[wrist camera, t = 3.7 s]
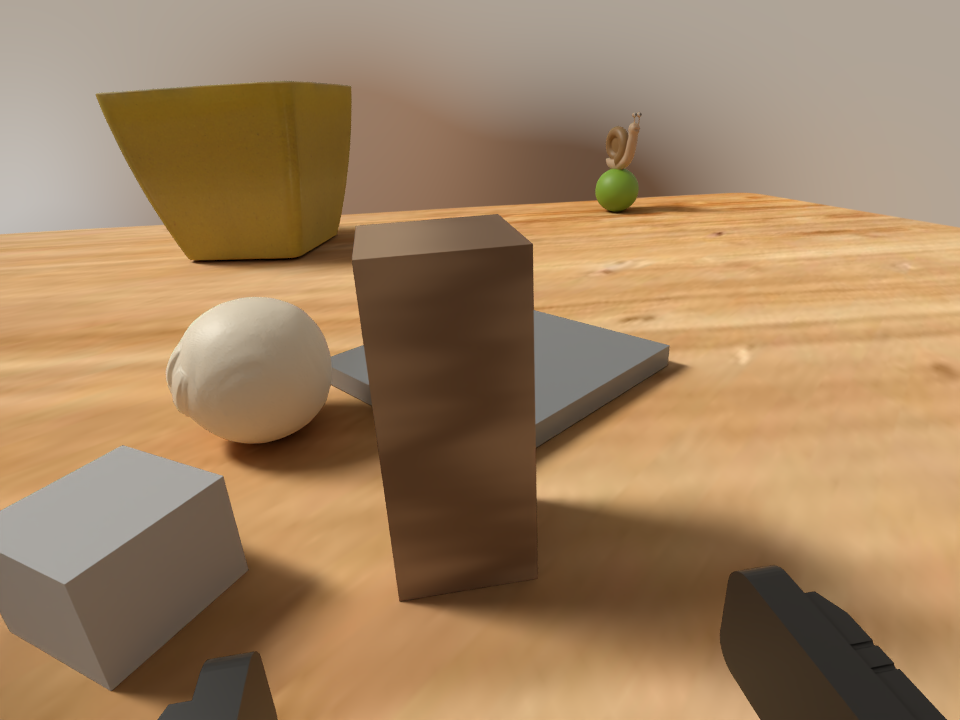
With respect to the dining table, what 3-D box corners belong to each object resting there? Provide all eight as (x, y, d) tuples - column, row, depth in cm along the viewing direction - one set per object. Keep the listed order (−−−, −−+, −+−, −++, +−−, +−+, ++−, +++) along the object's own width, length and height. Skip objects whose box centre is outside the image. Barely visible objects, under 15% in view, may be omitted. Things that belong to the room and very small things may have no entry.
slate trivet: (322, 380, 34) (319, 361, 34) (491, 314, 43) (491, 299, 43) (497, 472, 25) (496, 447, 24) (667, 365, 34) (669, 345, 33)
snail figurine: (615, 217, 74) (619, 113, 69) (587, 210, 79) (588, 113, 75) (650, 212, 76) (657, 111, 71) (620, 206, 81) (625, 111, 76)
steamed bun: (200, 411, 32) (167, 290, 29) (340, 391, 33) (321, 274, 30) (168, 483, 25) (123, 339, 23) (341, 456, 27) (317, 316, 24)
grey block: (11, 634, 19) (-41, 532, 17) (153, 535, 23) (122, 445, 21) (112, 694, 16) (64, 584, 15) (249, 572, 20) (223, 476, 19)
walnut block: (399, 601, 19) (351, 260, 14) (394, 512, 23) (356, 225, 18) (537, 578, 19) (532, 244, 15) (508, 496, 23) (498, 214, 19)
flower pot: (231, 232, 78) (201, 93, 71) (371, 228, 76) (353, 84, 69) (140, 271, 61) (88, 92, 54) (317, 268, 59) (286, 80, 52)
